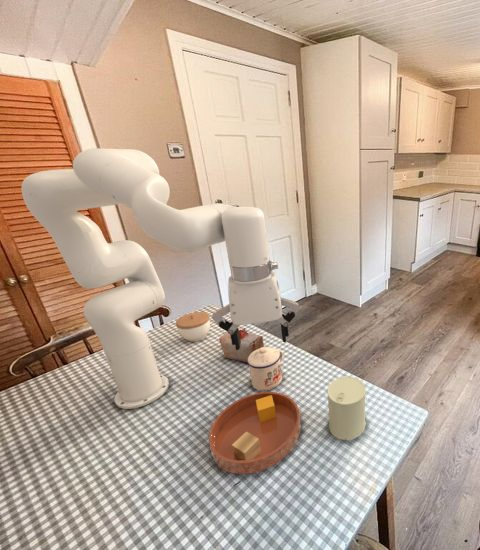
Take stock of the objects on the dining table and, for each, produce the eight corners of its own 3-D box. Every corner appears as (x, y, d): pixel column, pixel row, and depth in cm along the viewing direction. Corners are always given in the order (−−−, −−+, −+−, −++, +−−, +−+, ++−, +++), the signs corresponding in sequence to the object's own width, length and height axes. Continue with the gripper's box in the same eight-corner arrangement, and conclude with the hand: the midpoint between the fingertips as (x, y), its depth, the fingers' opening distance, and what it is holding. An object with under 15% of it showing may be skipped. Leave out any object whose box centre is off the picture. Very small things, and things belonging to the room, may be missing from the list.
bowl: (201, 431, 74) (198, 419, 73) (278, 392, 86) (276, 381, 85) (229, 496, 60) (226, 483, 59) (316, 438, 72) (315, 426, 71)
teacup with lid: (268, 396, 85) (264, 362, 81) (244, 386, 89) (238, 353, 84) (295, 370, 95) (292, 339, 91) (272, 362, 99) (268, 332, 94)
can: (322, 434, 73) (319, 396, 69) (339, 407, 81) (337, 371, 77) (356, 447, 70) (356, 407, 66) (371, 417, 78) (371, 380, 74)
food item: (219, 359, 100) (213, 334, 96) (235, 346, 107) (231, 321, 104) (254, 367, 96) (250, 341, 93) (268, 353, 104) (265, 328, 100)
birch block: (234, 457, 67) (231, 444, 66) (248, 443, 70) (246, 431, 69) (246, 466, 65) (244, 453, 64) (261, 451, 69) (258, 438, 67)
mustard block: (257, 411, 79) (255, 399, 78) (273, 406, 81) (271, 394, 79) (259, 423, 76) (257, 410, 74) (276, 417, 77) (274, 405, 76)
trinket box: (192, 328, 118) (187, 307, 114) (218, 330, 117) (214, 308, 113) (173, 344, 108) (167, 321, 104) (201, 346, 107) (196, 323, 103)
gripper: (293, 260, 66) (300, 328, 72) (207, 268, 61) (221, 339, 68) (296, 272, 59) (303, 345, 66) (199, 282, 55) (216, 360, 61)
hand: (261, 342), depth 67 cm, fingers open, 9 cm apart
